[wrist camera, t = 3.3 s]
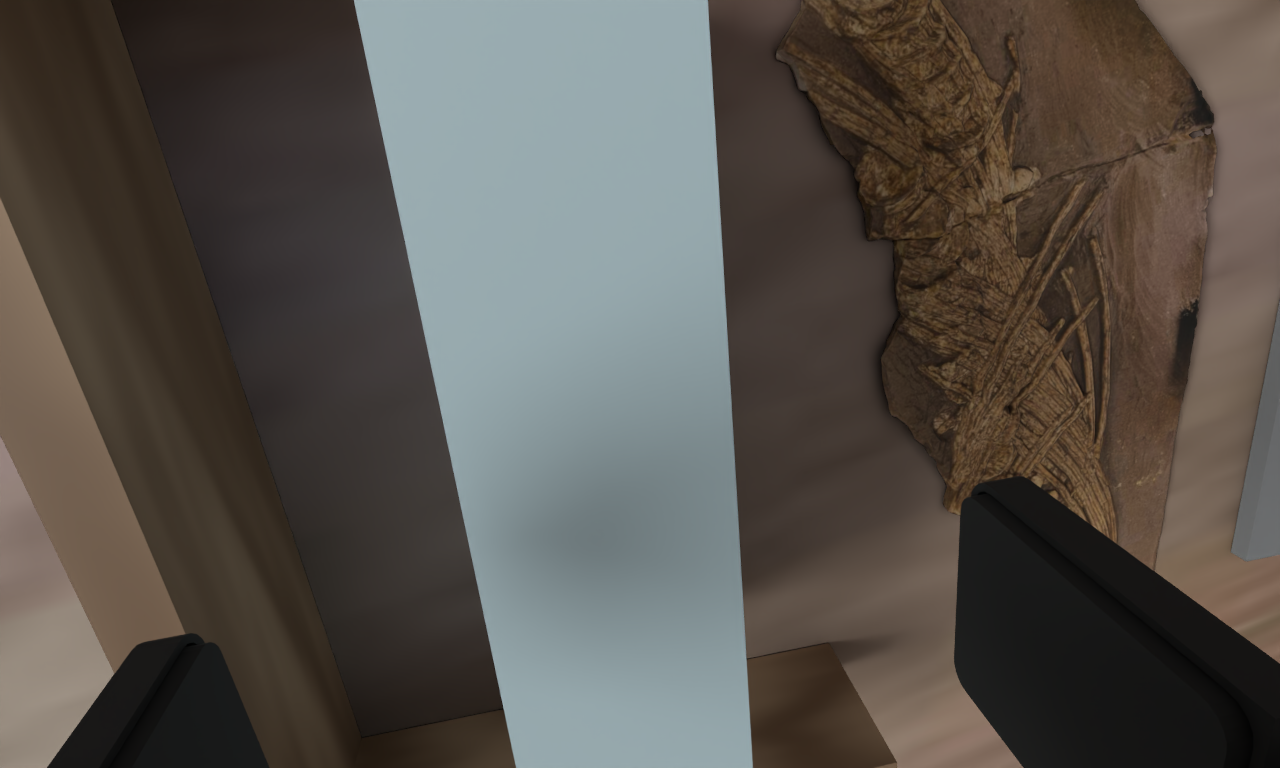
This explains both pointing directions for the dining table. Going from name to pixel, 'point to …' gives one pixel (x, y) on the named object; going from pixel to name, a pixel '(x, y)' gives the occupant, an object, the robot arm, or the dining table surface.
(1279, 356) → the mat
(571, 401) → the pale blue rectangular block
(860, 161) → the fossil stone slab
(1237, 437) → the dining table surface
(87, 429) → the open wooden box
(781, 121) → the dining table surface
